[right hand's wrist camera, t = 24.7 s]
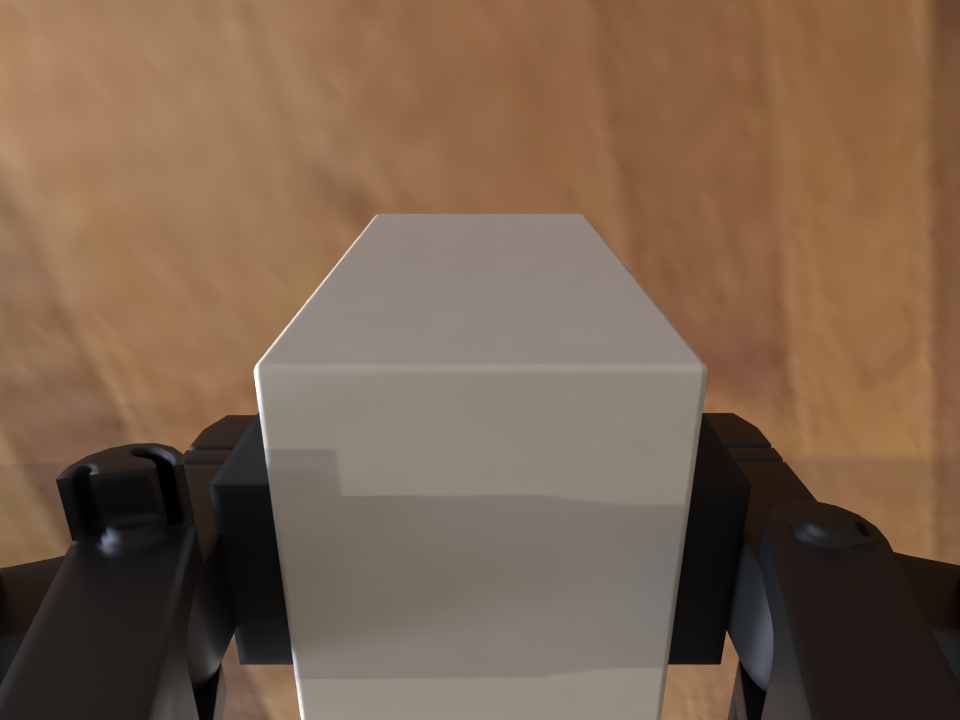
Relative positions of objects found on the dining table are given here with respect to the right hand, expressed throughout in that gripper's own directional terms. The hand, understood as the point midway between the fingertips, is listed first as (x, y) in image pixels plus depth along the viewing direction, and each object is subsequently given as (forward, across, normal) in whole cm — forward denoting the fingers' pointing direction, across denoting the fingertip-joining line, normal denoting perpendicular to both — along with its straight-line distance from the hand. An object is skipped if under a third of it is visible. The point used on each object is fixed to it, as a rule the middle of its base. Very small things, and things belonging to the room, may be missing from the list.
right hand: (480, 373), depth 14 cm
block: (+2, 0, 0) cm, 2 cm away
